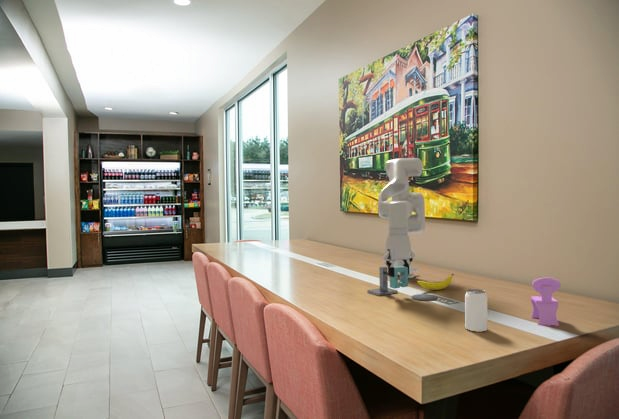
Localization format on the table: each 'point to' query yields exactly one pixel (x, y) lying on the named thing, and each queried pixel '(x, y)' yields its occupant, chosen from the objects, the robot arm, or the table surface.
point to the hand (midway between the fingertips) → (398, 275)
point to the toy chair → (545, 301)
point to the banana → (436, 284)
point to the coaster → (424, 297)
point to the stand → (384, 284)
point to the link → (403, 282)
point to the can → (476, 310)
